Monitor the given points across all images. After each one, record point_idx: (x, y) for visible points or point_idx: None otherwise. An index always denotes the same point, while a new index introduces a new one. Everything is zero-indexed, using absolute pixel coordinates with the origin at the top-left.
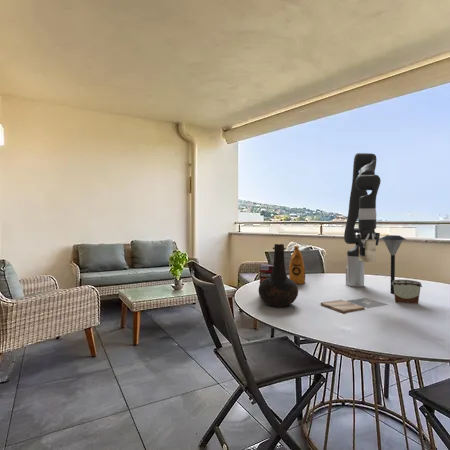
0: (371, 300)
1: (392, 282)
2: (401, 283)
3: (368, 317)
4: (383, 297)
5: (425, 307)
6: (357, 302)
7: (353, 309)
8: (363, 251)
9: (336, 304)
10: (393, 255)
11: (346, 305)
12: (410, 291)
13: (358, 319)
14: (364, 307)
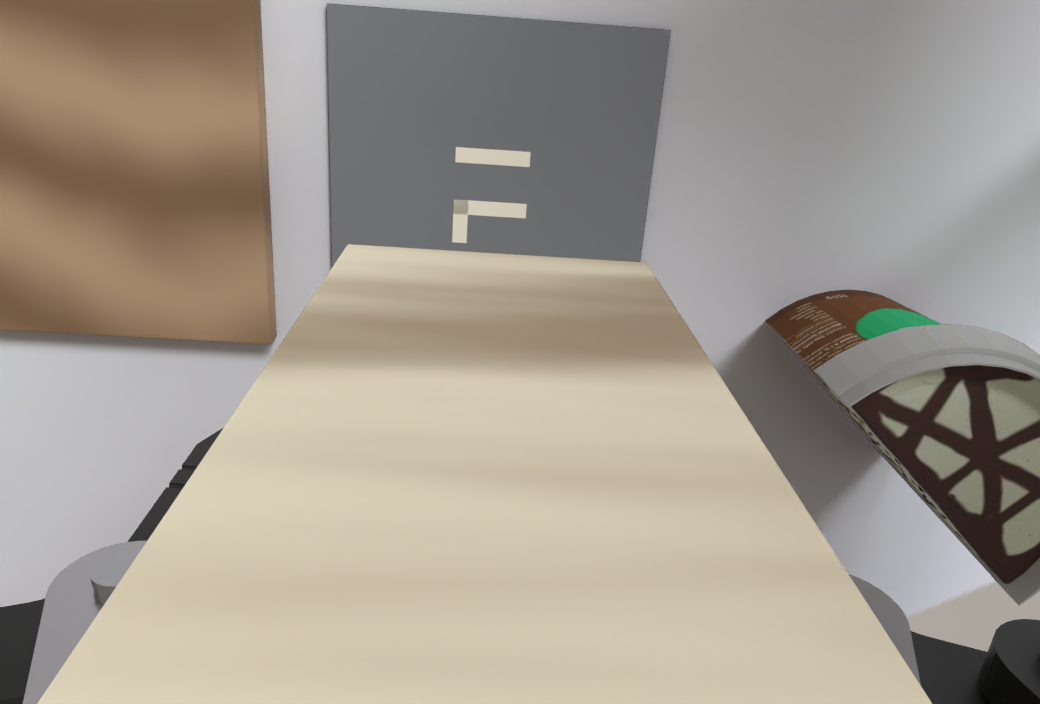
0: (617, 152)
1: (847, 383)
2: (897, 456)
3: (135, 492)
4: (882, 114)
5: (824, 531)
6: (403, 129)
7: (118, 334)
8: None
9: (51, 124)
10: None
11: (137, 210)
12: (903, 473)
13: (16, 489)
14: (269, 343)
